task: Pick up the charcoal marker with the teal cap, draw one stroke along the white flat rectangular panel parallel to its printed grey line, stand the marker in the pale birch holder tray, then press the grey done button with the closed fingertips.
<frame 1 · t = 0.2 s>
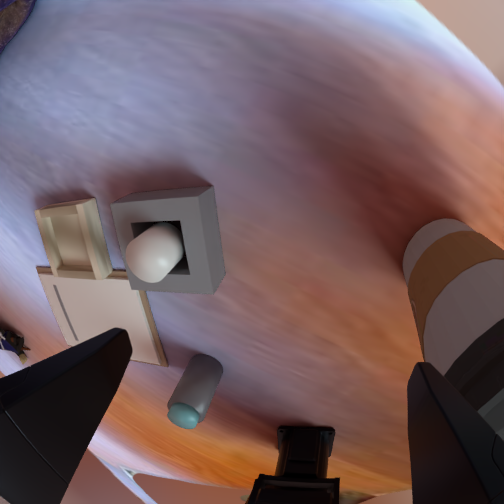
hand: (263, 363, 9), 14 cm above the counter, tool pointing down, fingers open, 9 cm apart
done button: (156, 251, 21), point 4 cm above the counter, slide at 0.0 cm
coffee cup: (438, 255, 21), on the counter
white flat rectangular panel: (96, 315, 30), on the counter
holder tray: (77, 236, 27), on the counter
toy: (7, 329, 39), on the counter
marker: (206, 366, 30), on the counter
button housing: (177, 233, 24), on the counter
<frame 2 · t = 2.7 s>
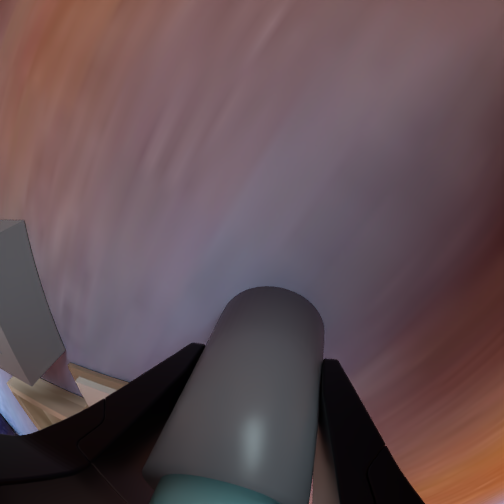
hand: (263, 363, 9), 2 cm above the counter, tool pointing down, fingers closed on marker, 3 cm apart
white flat rectangular panel: (186, 465, 16), on the counter
holder tray: (70, 416, 17), on the counter
marker: (271, 331, 10), on the counter, touching gripper
button housing: (6, 282, 13), on the counter
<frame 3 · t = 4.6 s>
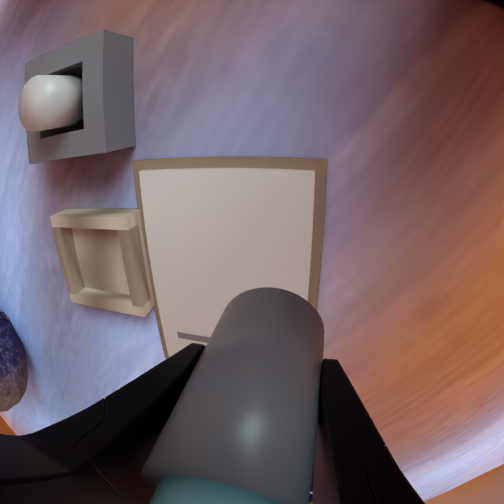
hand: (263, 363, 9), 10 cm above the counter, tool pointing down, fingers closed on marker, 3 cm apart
done button: (53, 101, 14), point 3 cm above the counter, slide at 0.0 cm
white flat rectangular panel: (227, 280, 20), on the counter
holder tray: (108, 255, 21), on the counter
marker: (271, 332, 10), point 9 cm above the counter, touching gripper
button housing: (90, 100, 17), on the counter
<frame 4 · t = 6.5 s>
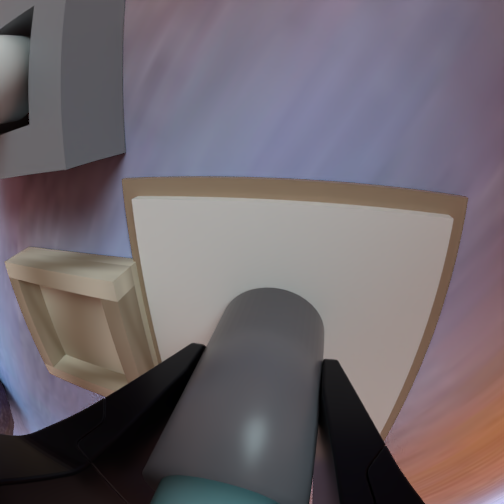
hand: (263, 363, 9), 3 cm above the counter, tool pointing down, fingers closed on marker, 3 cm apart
white flat rectangular panel: (280, 370, 12), on the counter
holder tray: (92, 318, 14), on the counter
marker: (272, 332, 10), point 1 cm above the counter, touching gripper
button housing: (54, 77, 9), on the counter
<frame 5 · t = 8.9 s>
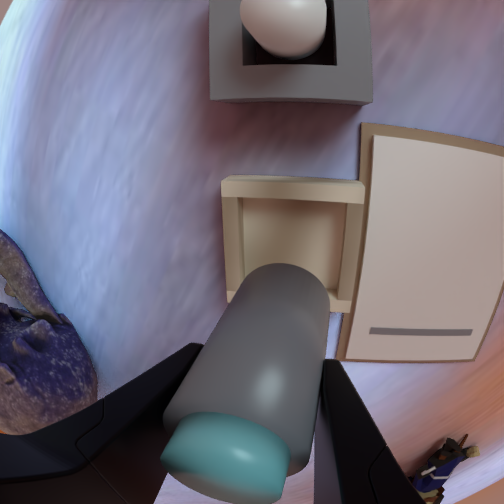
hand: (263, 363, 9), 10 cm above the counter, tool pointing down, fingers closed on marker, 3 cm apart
done button: (286, 19, 10), point 3 cm above the counter, slide at 0.0 cm
white flat rectangular panel: (439, 264, 16), on the counter
holder tray: (293, 238, 18), on the counter
toy: (428, 463, 25), on the counter
marker: (283, 305, 11), point 7 cm above the counter, touching gripper
button housing: (293, 39, 13), on the counter
decorative skull: (49, 315, 26), on the counter
when the fingers open (3 cm above the counter, at t = 10.3 s): marker stays where it is, resting on holder tray.
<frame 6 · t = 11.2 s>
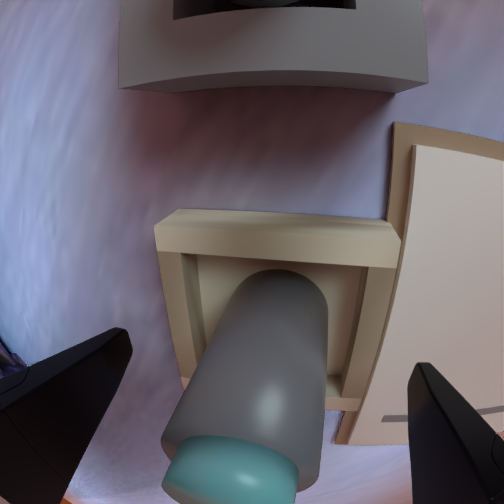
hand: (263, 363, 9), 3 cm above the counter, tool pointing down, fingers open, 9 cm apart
white flat rectangular panel: (486, 335, 10), on the counter
holder tray: (278, 306, 11), on the counter
marker: (279, 312, 11), point 1 cm above the counter, touching holder tray
decorative skull: (5, 352, 20), on the counter
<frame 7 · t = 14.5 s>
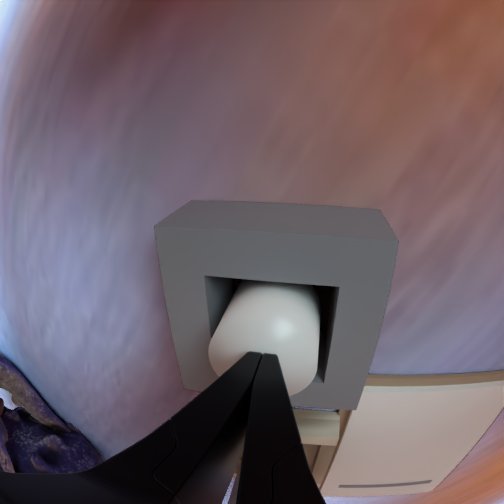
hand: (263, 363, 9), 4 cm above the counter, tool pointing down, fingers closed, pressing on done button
done button: (270, 332, 10), point 3 cm above the counter, slide at 0.7 cm, touching gripper
white flat rectangular panel: (406, 451, 16), on the counter
holder tray: (273, 438, 17), on the counter
button housing: (281, 289, 13), on the counter
decorative skull: (56, 418, 25), on the counter
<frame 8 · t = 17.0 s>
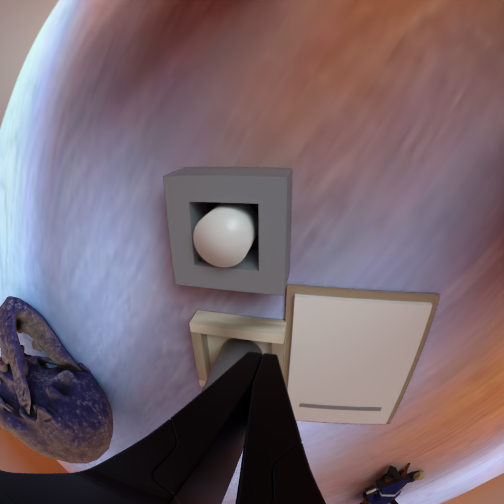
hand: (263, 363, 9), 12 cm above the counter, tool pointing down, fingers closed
done button: (227, 231, 19), point 2 cm above the counter, slide at 1.3 cm
white flat rectangular panel: (350, 368, 24), on the counter
holder tray: (242, 349, 25), on the counter
toy: (383, 481, 32), on the counter
marker: (242, 353, 24), point 1 cm above the counter, touching holder tray
button housing: (237, 220, 21), on the counter
decorative skull: (69, 362, 33), on the counter
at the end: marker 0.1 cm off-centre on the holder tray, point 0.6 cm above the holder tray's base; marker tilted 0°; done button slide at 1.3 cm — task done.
